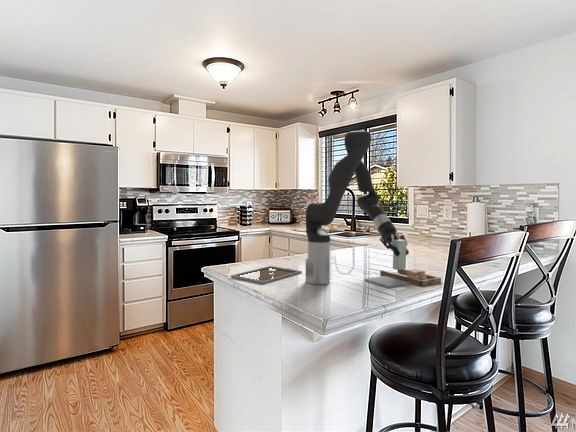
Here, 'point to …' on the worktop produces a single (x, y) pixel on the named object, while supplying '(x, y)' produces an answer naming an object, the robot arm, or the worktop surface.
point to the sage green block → (400, 260)
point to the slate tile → (387, 281)
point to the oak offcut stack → (416, 274)
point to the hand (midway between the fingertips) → (402, 254)
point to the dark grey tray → (265, 276)
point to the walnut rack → (429, 280)
